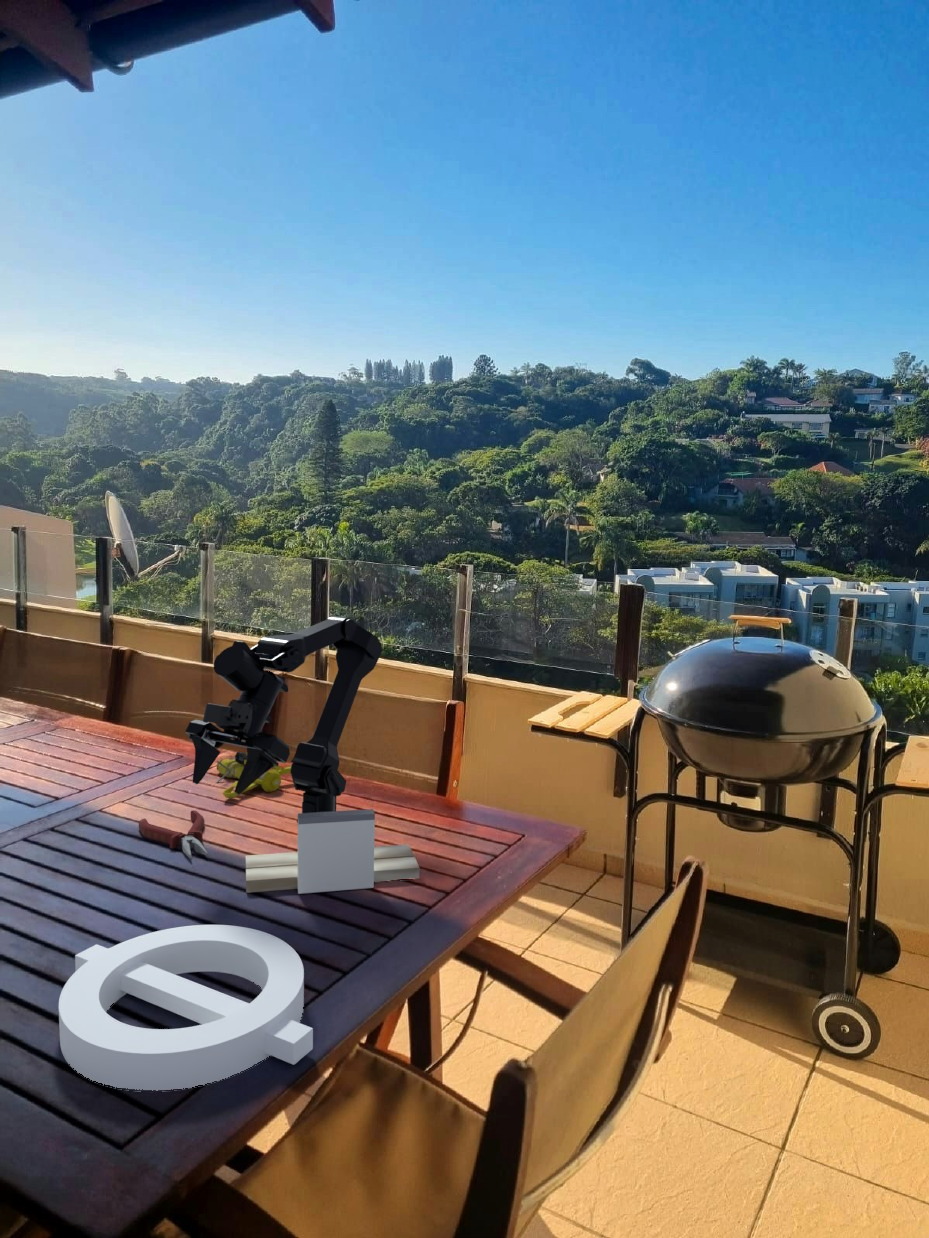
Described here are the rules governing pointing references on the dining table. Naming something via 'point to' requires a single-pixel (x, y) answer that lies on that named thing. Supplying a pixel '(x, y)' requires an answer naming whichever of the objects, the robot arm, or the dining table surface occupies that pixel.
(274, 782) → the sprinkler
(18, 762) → the dining table surface
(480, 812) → the dining table surface
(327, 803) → the robot arm
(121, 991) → the ring with crossbar
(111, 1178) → the dining table surface
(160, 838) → the pliers
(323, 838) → the white square slab
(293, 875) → the laid plank
